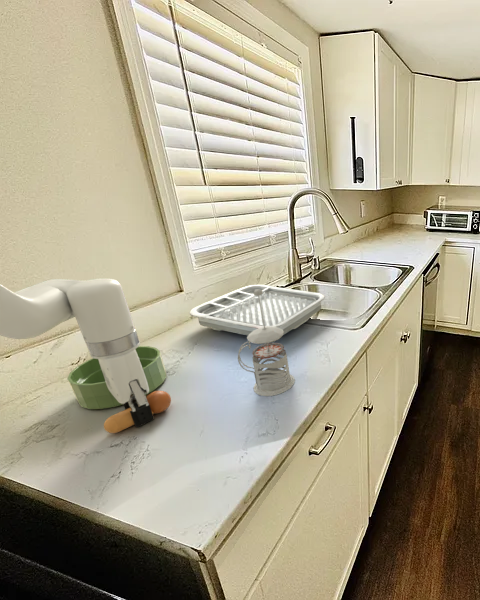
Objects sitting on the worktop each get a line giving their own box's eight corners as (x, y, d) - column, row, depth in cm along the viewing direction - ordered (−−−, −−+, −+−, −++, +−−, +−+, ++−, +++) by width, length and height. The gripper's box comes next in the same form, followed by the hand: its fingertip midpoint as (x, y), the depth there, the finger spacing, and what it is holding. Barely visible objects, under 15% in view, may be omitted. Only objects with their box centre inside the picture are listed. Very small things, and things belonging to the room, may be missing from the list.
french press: (296, 390, 78) (281, 293, 70) (243, 402, 75) (221, 300, 66) (293, 369, 87) (280, 280, 78) (246, 378, 83) (226, 286, 74)
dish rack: (276, 352, 96) (272, 328, 93) (186, 333, 108) (180, 311, 105) (332, 312, 123) (330, 292, 120) (256, 301, 135) (252, 282, 132)
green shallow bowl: (89, 422, 69) (77, 394, 67) (71, 392, 79) (60, 367, 76) (178, 383, 82) (170, 359, 79) (153, 362, 91) (145, 340, 89)
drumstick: (110, 441, 64) (102, 421, 62) (103, 430, 67) (95, 411, 65) (177, 409, 73) (171, 391, 71) (168, 401, 75) (163, 383, 74)
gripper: (77, 338, 65) (107, 412, 71) (101, 364, 55) (133, 447, 62) (124, 324, 70) (147, 395, 77) (152, 347, 61) (176, 425, 68)
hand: (141, 417), depth 69 cm, fingers closed on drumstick, 3 cm apart
